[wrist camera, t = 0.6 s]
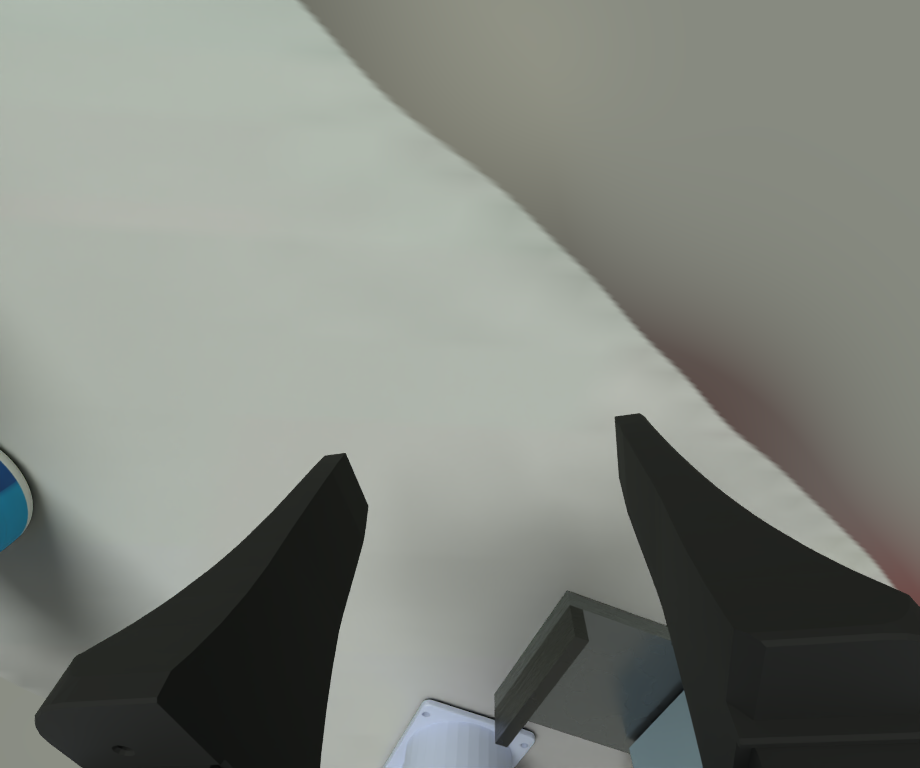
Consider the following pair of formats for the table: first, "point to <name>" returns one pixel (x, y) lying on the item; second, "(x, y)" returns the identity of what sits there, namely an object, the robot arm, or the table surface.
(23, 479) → the beverage bottle
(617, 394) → the table surface
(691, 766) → the cart
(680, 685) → the rail
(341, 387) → the table surface
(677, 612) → the robot arm
